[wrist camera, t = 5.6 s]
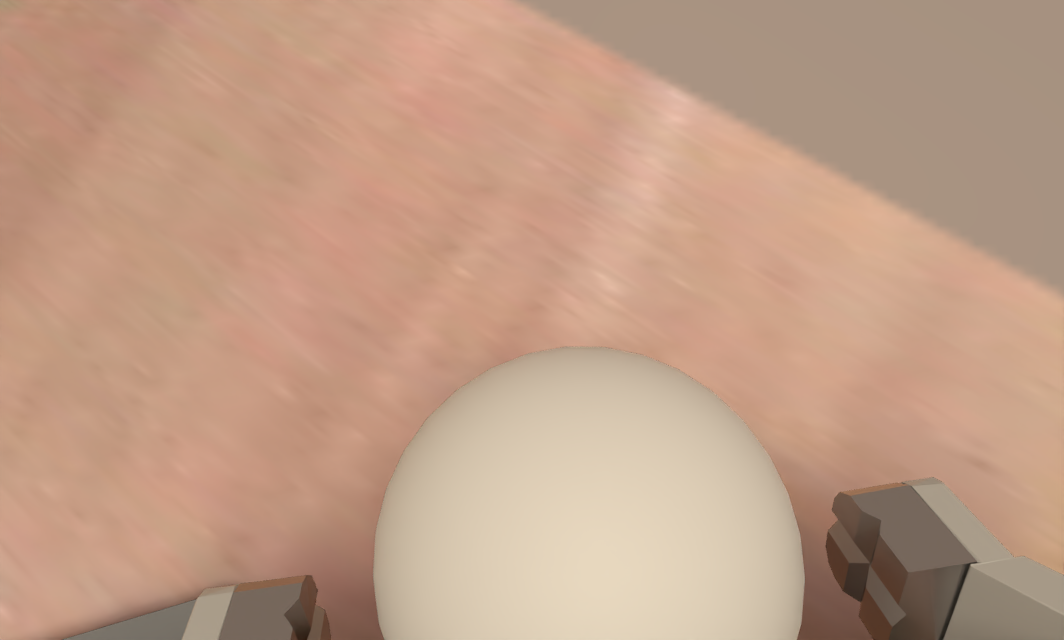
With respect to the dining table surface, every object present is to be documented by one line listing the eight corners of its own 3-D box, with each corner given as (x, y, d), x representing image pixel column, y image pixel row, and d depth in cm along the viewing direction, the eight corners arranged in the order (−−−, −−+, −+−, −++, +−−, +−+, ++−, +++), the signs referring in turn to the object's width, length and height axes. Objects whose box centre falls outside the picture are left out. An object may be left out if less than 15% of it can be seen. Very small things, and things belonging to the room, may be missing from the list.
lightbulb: (451, 406, 18) (373, 266, 8) (671, 429, 18) (888, 320, 8) (418, 648, 17) (262, 885, 6) (661, 673, 17) (920, 951, 6)
